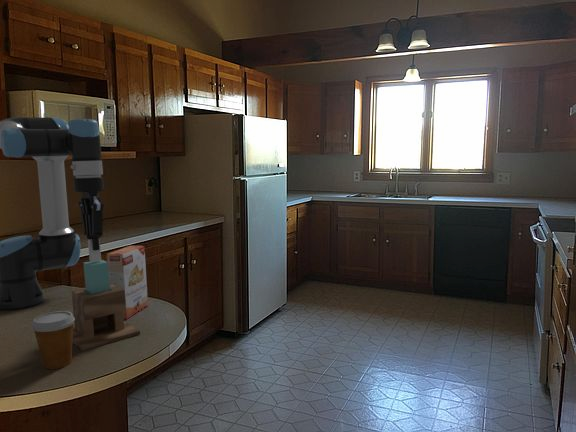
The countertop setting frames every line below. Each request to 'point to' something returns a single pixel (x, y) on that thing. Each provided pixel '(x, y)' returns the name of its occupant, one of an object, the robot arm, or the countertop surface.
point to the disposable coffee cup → (54, 338)
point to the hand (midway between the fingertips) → (95, 261)
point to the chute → (100, 318)
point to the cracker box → (129, 276)
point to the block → (96, 277)
